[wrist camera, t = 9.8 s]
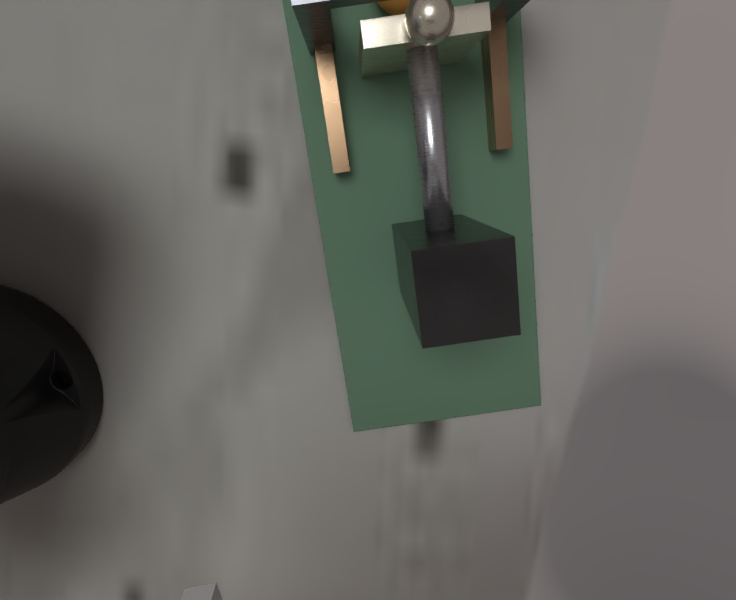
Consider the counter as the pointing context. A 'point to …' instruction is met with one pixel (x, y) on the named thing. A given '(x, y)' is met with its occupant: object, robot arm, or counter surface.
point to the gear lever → (442, 185)
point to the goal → (317, 30)
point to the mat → (403, 204)
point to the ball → (394, 6)
